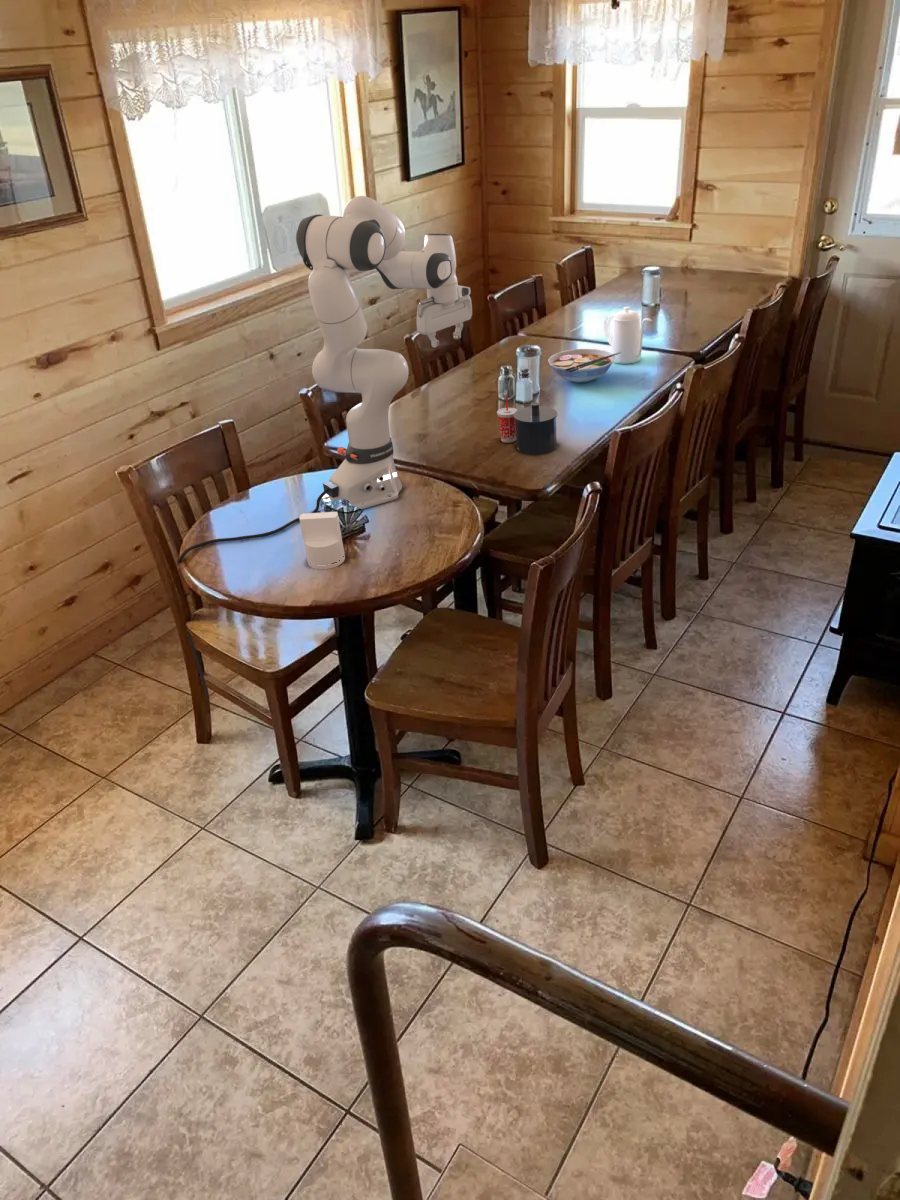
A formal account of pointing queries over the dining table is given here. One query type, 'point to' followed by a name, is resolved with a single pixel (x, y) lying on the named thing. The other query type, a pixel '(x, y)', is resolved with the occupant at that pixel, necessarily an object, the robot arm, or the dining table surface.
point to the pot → (536, 437)
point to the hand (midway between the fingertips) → (446, 342)
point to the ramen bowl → (581, 364)
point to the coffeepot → (625, 335)
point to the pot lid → (535, 414)
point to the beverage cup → (507, 423)
